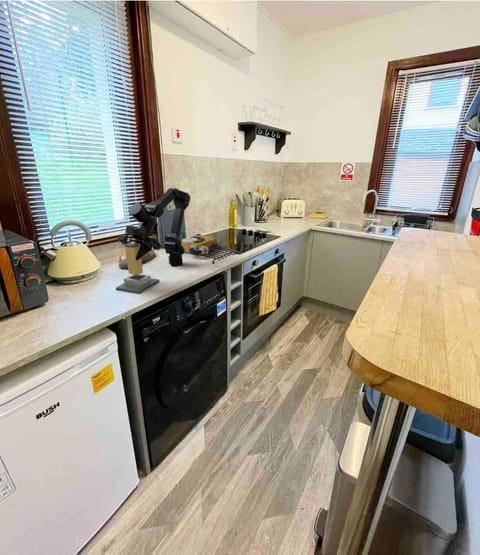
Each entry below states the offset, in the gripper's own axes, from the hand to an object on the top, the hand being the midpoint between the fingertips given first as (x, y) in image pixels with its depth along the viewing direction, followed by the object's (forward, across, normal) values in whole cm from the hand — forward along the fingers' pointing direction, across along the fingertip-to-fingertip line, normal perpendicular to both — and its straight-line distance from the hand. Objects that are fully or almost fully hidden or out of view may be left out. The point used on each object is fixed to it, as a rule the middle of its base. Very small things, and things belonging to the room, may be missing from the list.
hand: (131, 259), depth 115 cm
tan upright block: (+4, 0, +6) cm, 7 cm away
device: (-33, 0, +52) cm, 61 cm away
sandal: (-12, -23, +31) cm, 40 cm away
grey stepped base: (+8, 0, +10) cm, 13 cm away
